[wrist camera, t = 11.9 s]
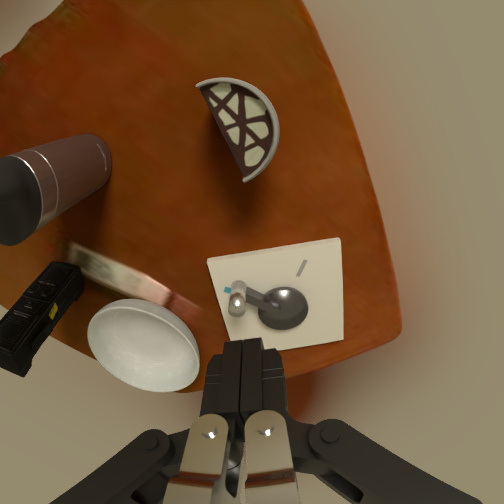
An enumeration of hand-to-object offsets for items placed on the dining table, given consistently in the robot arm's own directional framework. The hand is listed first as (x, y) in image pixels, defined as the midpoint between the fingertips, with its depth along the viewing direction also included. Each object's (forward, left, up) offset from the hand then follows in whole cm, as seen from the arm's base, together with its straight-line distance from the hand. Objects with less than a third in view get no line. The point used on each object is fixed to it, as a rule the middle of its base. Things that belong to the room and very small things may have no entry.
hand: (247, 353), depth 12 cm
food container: (+1, +8, -32) cm, 33 cm away
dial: (-1, -19, -30) cm, 36 cm away
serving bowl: (-24, -24, -32) cm, 47 cm away
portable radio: (-36, -10, -32) cm, 49 cm away
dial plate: (+1, -21, -32) cm, 38 cm away
